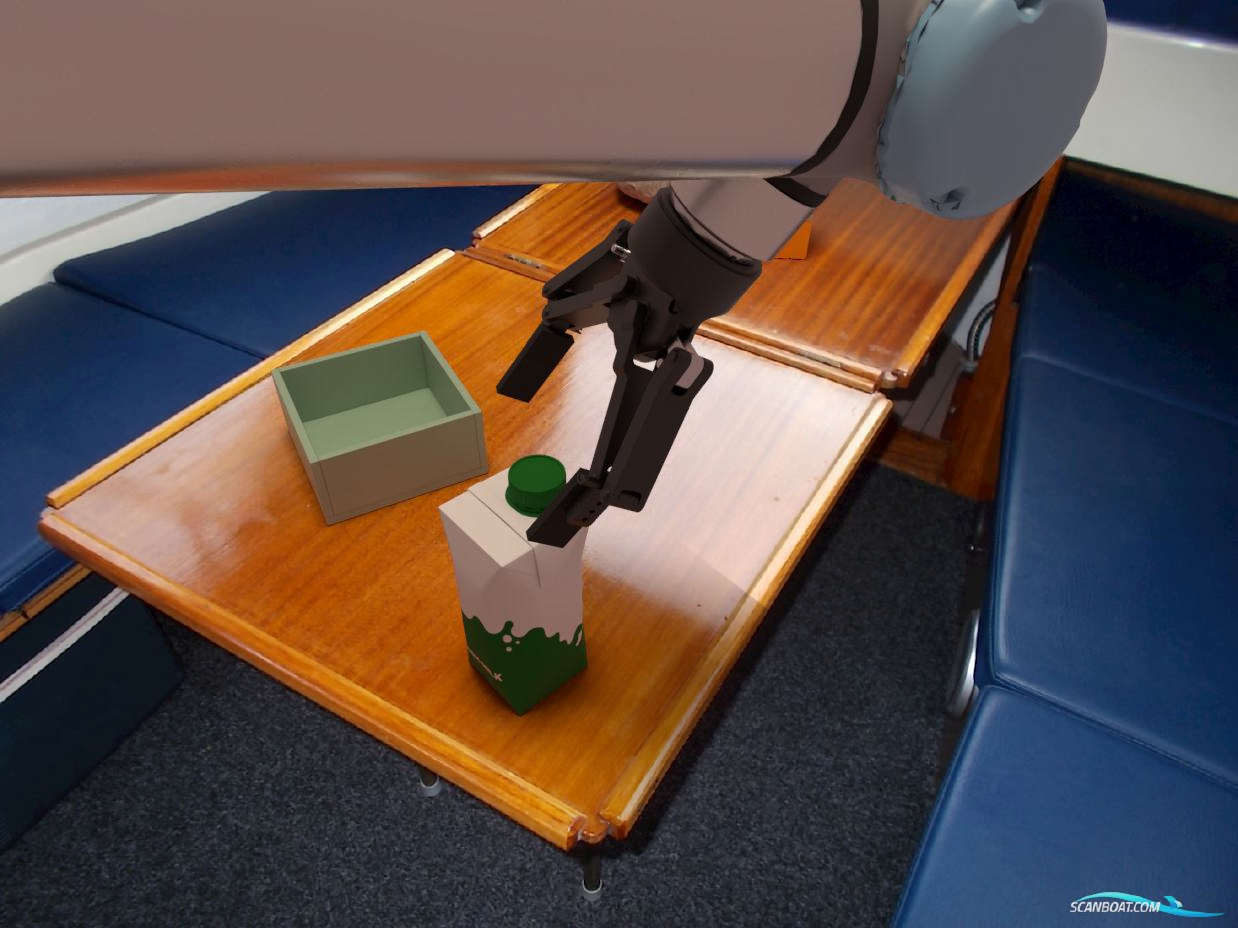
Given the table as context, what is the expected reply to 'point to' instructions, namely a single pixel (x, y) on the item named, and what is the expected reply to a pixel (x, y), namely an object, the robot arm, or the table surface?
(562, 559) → the soya milk
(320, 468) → the open box
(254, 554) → the table surface
